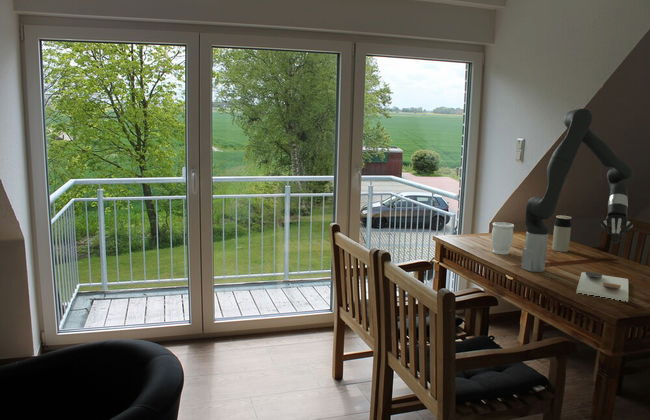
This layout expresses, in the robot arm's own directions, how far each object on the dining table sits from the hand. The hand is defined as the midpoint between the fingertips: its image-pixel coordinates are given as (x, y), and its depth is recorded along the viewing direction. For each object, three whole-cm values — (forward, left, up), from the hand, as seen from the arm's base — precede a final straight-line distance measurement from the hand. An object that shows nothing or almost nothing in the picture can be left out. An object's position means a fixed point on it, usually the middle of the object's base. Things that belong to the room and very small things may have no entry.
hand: (615, 242), depth 230 cm
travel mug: (+19, +48, -17) cm, 54 cm away
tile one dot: (-6, +3, -15) cm, 17 cm away
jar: (-16, +52, -17) cm, 57 cm away
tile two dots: (-12, -11, -15) cm, 22 cm away
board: (-12, -7, -17) cm, 21 cm away
